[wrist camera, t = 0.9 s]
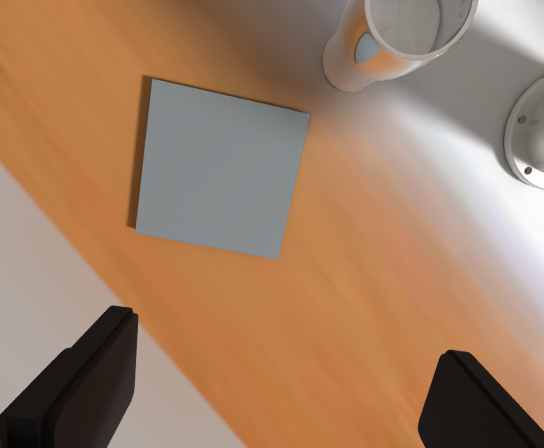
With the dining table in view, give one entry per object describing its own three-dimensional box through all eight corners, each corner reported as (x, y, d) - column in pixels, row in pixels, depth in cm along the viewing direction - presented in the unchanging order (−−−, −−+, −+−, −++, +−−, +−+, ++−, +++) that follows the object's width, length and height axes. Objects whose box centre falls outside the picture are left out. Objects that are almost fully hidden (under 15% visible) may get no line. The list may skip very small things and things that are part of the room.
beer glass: (370, 106, 34) (451, 81, 20) (308, 84, 33) (343, 41, 19) (397, 35, 32) (505, -49, 18) (331, 11, 32) (389, -98, 17)
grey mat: (309, 115, 34) (310, 114, 33) (277, 256, 38) (277, 259, 37) (155, 80, 33) (152, 78, 32) (138, 230, 37) (135, 232, 36)
